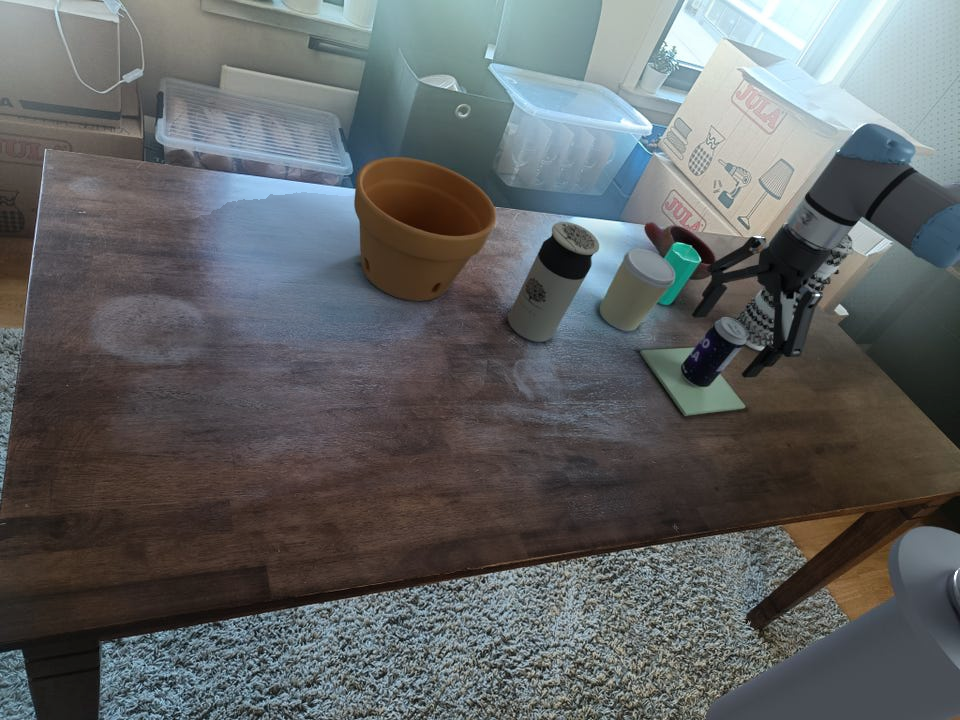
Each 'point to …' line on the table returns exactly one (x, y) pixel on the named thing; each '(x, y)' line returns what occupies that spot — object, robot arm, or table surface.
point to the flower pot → (418, 225)
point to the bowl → (681, 235)
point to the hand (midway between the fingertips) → (722, 344)
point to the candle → (680, 269)
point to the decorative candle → (763, 309)
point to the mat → (685, 394)
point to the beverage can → (714, 352)
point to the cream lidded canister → (636, 288)
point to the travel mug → (553, 281)
